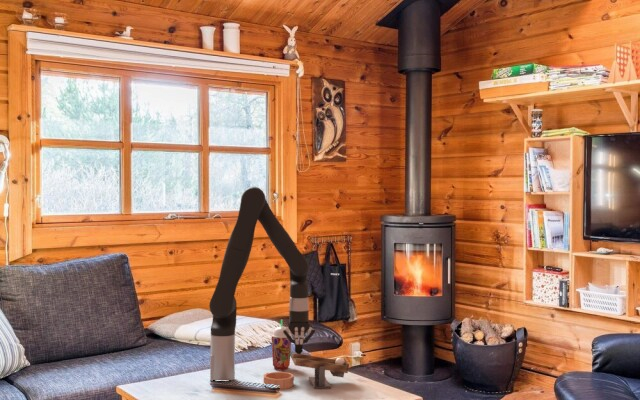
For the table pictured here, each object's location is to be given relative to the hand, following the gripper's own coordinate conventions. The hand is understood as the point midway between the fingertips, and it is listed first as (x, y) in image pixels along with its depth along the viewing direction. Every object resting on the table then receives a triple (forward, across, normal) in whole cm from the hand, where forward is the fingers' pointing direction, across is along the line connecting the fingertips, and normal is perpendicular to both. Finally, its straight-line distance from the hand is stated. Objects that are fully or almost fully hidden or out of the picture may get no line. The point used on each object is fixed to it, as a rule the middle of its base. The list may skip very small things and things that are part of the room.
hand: (298, 353), depth 278 cm
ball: (+2, +15, -8) cm, 17 cm away
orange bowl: (+10, -9, -8) cm, 15 cm away
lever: (+5, +6, -4) cm, 9 cm away
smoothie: (+10, -5, +17) cm, 20 cm away
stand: (+10, +7, -8) cm, 15 cm away
